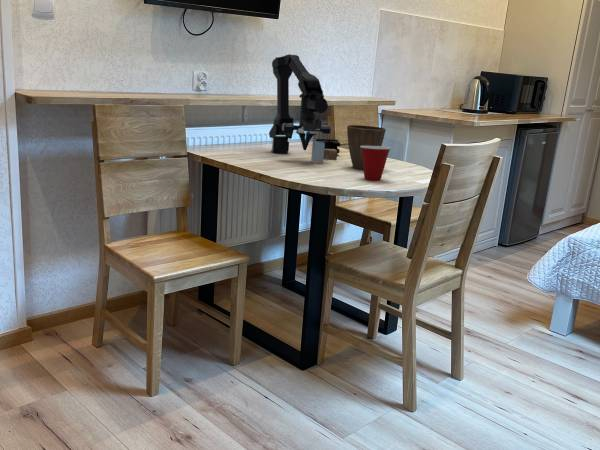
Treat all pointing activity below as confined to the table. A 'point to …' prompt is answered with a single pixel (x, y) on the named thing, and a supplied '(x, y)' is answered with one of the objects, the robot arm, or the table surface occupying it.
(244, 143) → the table surface
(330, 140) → the end cap
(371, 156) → the plastic cup
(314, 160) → the slate block
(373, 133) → the plant pot
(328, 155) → the walnut block
